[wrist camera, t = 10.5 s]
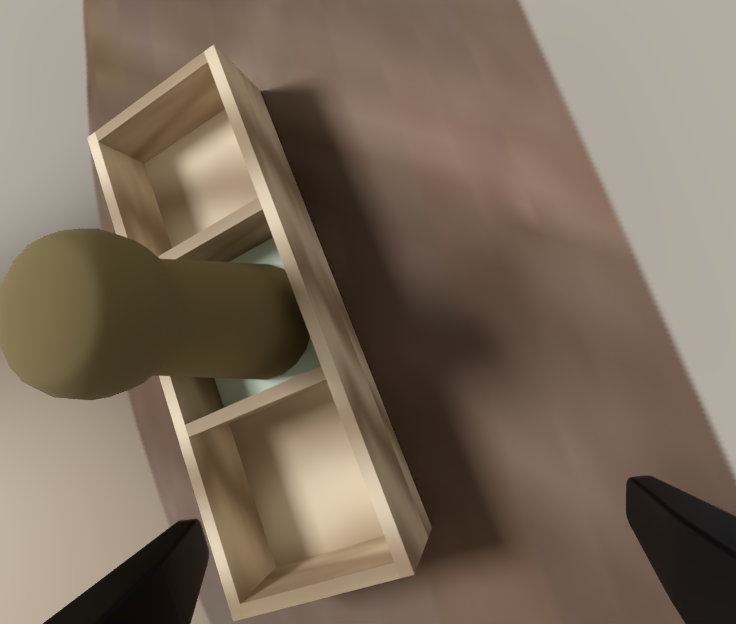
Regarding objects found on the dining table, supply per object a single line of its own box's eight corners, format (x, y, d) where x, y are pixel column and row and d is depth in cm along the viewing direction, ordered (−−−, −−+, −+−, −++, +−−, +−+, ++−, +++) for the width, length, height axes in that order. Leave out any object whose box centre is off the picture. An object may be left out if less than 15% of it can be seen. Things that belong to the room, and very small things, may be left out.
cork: (203, 368, 23) (-55, 399, 12) (220, 258, 23) (-25, 194, 12) (302, 390, 21) (97, 449, 10) (320, 270, 21) (133, 207, 10)
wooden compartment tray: (431, 527, 20) (414, 574, 16) (280, 571, 22) (233, 621, 18) (260, 90, 24) (213, 44, 20) (147, 166, 26) (87, 137, 22)
